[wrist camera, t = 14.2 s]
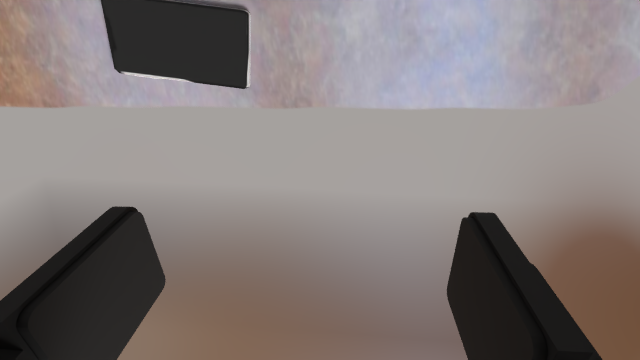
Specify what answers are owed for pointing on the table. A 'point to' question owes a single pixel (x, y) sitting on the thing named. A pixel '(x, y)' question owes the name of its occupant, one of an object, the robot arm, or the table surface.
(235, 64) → the smartphone
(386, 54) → the table surface
